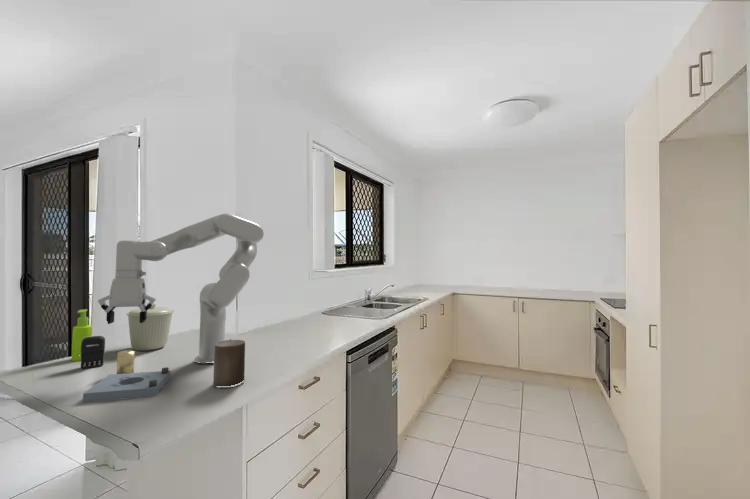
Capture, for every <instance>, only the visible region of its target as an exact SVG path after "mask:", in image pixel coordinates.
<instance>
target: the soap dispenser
mask: <svg viewBox="0 0 750 499" xmlns="http://www.w3.org/2000/svg"><path fill="white" fill-rule="evenodd" d="M87 311H88V309H87V308H85V309H84V308H83V309H79V310H78V311H77V314H80V316H79V317H78V318H77V325H75V326H73V327H72V336H71V338H72V341H71V342H72V343H71V356H70V357H72V358H71V362H81V342H82V340H83V338H85V337H89V336H93V325H91V324H89V321H90V320H89V317H88V316H87ZM79 355H80V356H79Z"/></svg>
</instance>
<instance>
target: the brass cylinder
mask: <svg viewBox="0 0 750 499" xmlns="http://www.w3.org/2000/svg"><path fill="white" fill-rule="evenodd" d="M116 356H117V357H116V373H115V374H127V373H135V359H136V358H135V356H136V350H134V349H129V350H128V349H126V350H120V351H118V352H117V354H116Z"/></svg>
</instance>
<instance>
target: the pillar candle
mask: <svg viewBox="0 0 750 499" xmlns="http://www.w3.org/2000/svg"><path fill="white" fill-rule="evenodd" d="M245 359H246V341H245V340H244V339H232V338H230V339H227V340H226V339H225V341H221V342H217V343H215V352H214V363H213V381H212V383H213V386H214V385H215V386H231V385H235V384H238V383H240V382H242V381H243V380H244V381H245V367H246V364H245V362H246V360H245Z"/></svg>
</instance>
